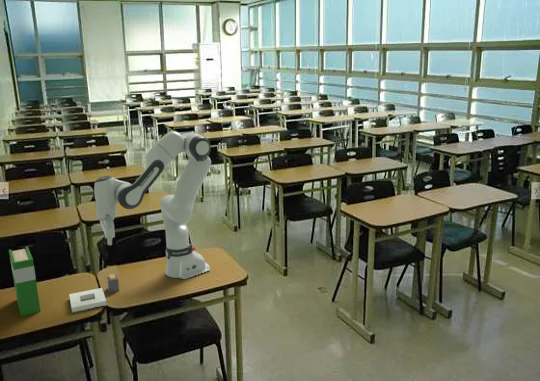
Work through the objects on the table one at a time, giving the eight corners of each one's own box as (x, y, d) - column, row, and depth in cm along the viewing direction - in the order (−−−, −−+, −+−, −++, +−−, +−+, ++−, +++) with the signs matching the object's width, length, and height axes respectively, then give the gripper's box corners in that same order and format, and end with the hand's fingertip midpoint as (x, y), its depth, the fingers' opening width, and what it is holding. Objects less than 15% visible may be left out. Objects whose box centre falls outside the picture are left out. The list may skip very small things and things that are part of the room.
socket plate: (102, 292, 216) (102, 287, 216) (106, 305, 204) (106, 300, 203) (69, 299, 210) (69, 294, 210) (72, 313, 198) (71, 307, 197)
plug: (117, 286, 222) (116, 273, 220) (119, 290, 218) (117, 277, 216) (107, 288, 220) (106, 275, 219) (109, 292, 216) (107, 279, 215)
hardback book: (16, 299, 210) (8, 249, 204) (34, 295, 214) (27, 246, 208) (21, 316, 196) (12, 263, 190) (40, 311, 200) (32, 259, 194)
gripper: (117, 217, 203) (119, 247, 206) (110, 206, 221) (112, 233, 224) (101, 219, 200) (104, 249, 203) (96, 207, 218) (98, 235, 221)
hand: (108, 241), depth 214 cm, fingers open, 8 cm apart
